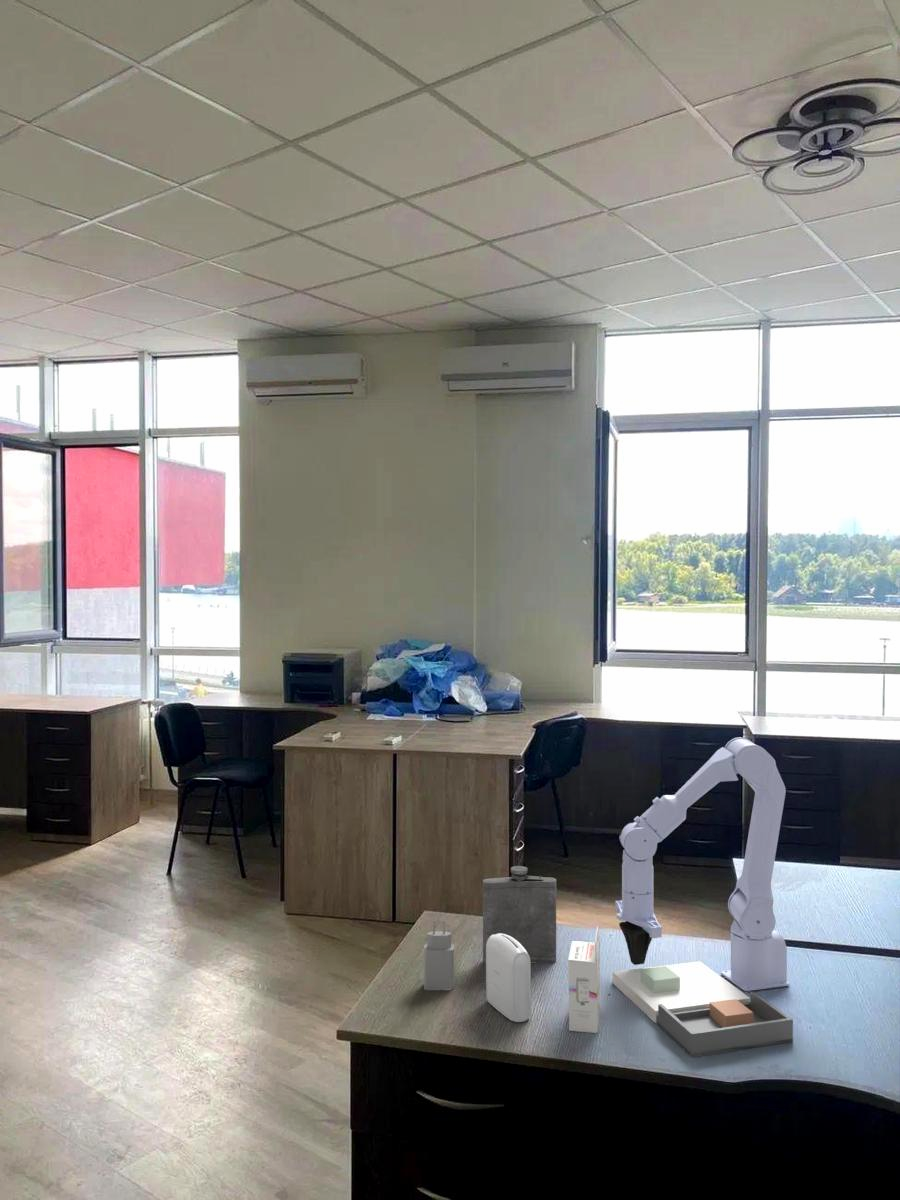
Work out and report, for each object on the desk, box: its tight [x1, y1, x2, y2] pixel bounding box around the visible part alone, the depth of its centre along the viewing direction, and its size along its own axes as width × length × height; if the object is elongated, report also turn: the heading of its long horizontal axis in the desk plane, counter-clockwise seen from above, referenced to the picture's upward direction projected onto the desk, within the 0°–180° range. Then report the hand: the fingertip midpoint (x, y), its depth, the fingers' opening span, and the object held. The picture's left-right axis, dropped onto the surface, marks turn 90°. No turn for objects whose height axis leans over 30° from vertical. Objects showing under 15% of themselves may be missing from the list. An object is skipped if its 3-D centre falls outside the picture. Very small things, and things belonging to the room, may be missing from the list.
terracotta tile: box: [709, 999, 753, 1028], centre depth 146 cm, size 5×5×2 cm
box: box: [655, 991, 794, 1058], centre depth 143 cm, size 18×11×4 cm, turn 106°
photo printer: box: [485, 933, 532, 1023], centre depth 151 cm, size 10×4×12 cm, turn 26°
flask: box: [482, 865, 557, 965], centre depth 171 cm, size 4×14×18 cm, turn 94°
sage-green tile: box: [639, 965, 680, 993], centre depth 156 cm, size 5×5×2 cm
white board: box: [612, 960, 750, 1024], centre depth 156 cm, size 18×16×2 cm
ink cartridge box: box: [567, 925, 601, 1034], centre depth 147 cm, size 9×5×15 cm, turn 168°
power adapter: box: [423, 919, 455, 991], centre depth 160 cm, size 3×5×12 cm, turn 91°
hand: (637, 963), depth 164 cm, fingers closed
